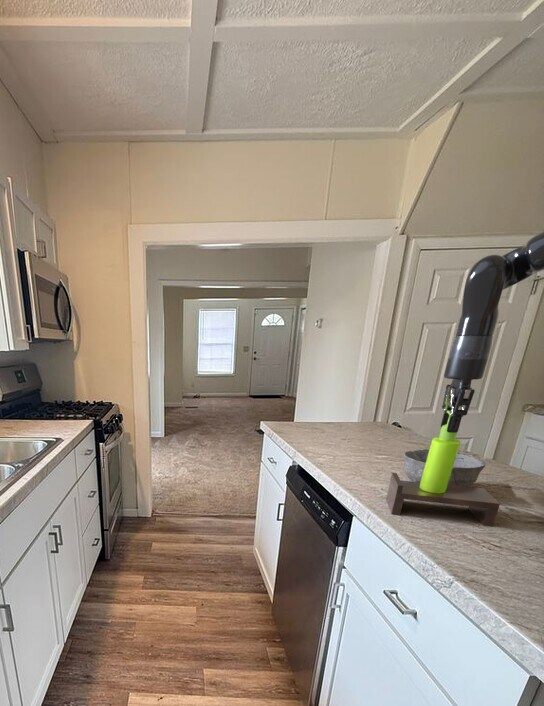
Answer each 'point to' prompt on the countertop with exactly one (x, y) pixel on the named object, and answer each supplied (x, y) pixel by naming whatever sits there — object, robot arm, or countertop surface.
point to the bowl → (461, 473)
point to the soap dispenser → (440, 461)
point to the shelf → (444, 498)
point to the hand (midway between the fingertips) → (448, 429)
